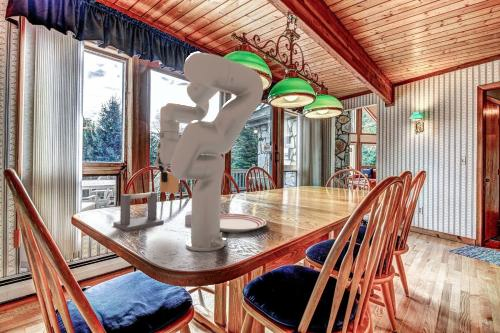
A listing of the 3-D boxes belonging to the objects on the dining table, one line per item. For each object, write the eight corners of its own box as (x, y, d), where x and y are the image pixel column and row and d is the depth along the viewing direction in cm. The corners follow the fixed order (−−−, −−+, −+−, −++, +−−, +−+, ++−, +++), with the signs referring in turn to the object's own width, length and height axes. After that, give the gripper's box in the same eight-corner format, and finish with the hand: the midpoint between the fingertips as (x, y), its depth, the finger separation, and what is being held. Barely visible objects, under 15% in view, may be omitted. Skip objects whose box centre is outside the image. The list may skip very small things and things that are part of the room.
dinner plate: (267, 221, 121) (267, 214, 121) (265, 238, 94) (265, 229, 94) (211, 218, 124) (211, 211, 124) (193, 234, 97) (194, 225, 97)
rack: (163, 223, 111) (164, 193, 110) (127, 231, 98) (127, 196, 98) (148, 219, 118) (149, 190, 118) (113, 225, 105) (113, 193, 105)
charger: (206, 217, 126) (206, 225, 111) (187, 217, 124) (184, 225, 109) (206, 208, 126) (206, 214, 111) (187, 208, 124) (185, 214, 109)
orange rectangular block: (178, 192, 102) (178, 173, 102) (170, 193, 99) (170, 173, 99) (168, 191, 107) (168, 172, 106) (160, 192, 103) (160, 172, 103)
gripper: (156, 134, 94) (156, 183, 94) (192, 138, 107) (191, 181, 107) (145, 135, 98) (145, 182, 98) (181, 139, 112) (180, 180, 112)
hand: (169, 181), depth 103 cm, fingers closed on orange rectangular block, 4 cm apart
